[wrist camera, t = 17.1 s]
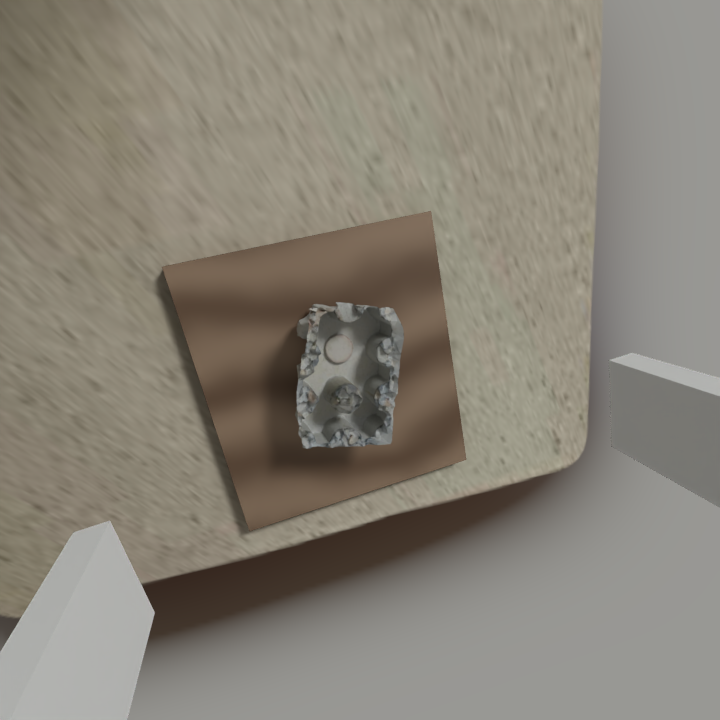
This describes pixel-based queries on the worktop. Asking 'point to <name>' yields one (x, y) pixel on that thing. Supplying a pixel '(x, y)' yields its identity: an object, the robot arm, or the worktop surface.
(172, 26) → the worktop surface
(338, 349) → the egg carton
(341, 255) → the walnut board
